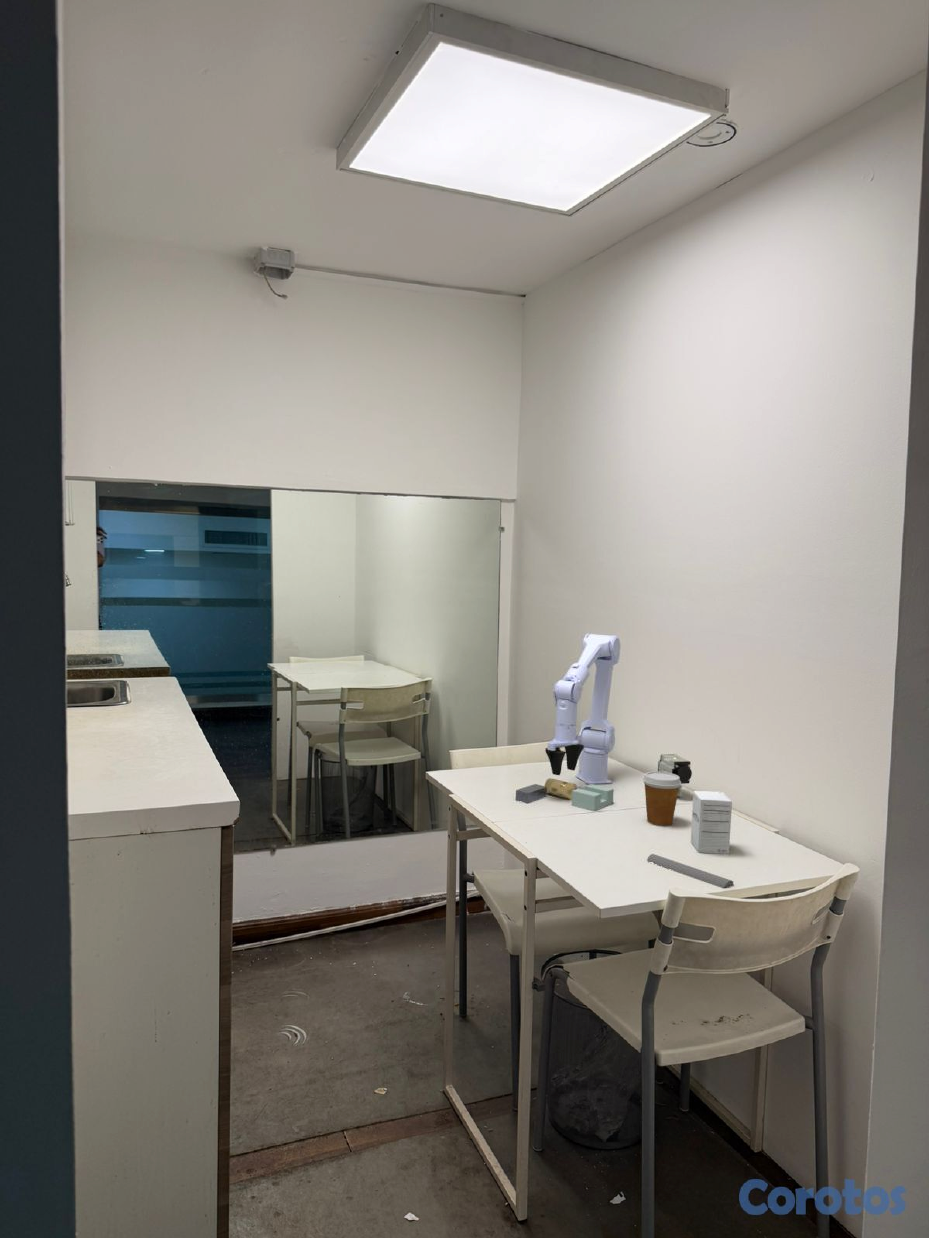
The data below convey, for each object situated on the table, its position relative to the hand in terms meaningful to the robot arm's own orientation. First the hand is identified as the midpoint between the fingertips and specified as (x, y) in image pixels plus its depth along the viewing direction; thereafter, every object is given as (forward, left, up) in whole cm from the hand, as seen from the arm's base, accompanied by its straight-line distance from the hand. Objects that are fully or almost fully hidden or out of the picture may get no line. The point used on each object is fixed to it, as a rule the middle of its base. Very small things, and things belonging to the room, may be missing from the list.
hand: (563, 772), depth 237 cm
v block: (+8, +6, -7) cm, 12 cm away
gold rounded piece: (-1, 0, -5) cm, 5 cm away
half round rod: (+58, +5, -8) cm, 59 cm away
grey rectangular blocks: (-3, -6, -7) cm, 10 cm away
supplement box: (+45, +18, -7) cm, 49 cm away
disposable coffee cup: (+25, +16, -7) cm, 31 cm away
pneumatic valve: (+3, +32, -7) cm, 33 cm away
